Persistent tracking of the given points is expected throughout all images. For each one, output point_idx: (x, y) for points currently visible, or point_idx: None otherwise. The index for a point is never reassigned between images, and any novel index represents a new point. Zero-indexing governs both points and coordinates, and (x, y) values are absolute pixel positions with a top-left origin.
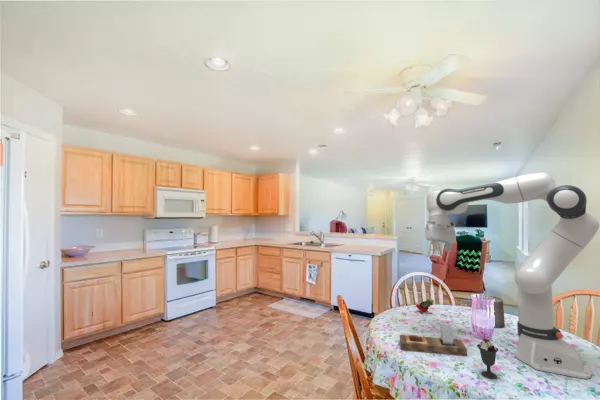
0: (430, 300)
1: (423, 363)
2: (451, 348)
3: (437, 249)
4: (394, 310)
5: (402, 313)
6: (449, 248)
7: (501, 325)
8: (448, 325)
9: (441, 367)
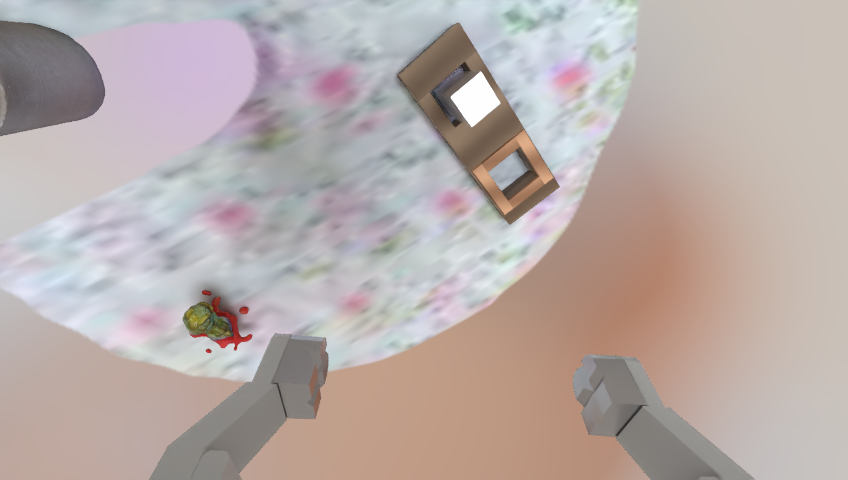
0: (204, 316)
1: (582, 98)
2: (485, 66)
3: (635, 365)
4: None
5: None
6: (295, 374)
7: (48, 29)
8: (459, 100)
9: (573, 49)
